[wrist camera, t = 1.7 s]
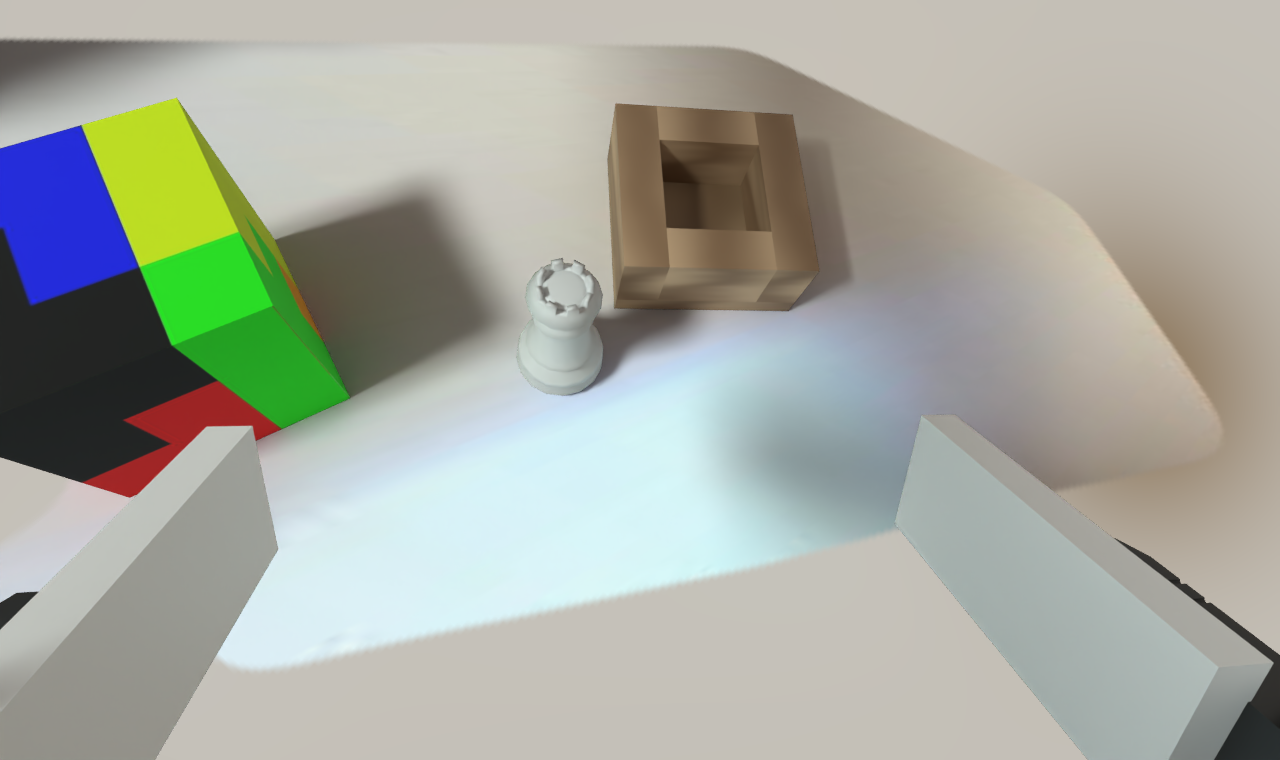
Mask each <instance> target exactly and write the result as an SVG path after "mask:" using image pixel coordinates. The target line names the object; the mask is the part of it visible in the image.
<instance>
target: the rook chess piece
mask: <svg viewBox="0 0 1280 760" xmlns="http://www.w3.org/2000/svg"><path fill="white" fill-rule="evenodd" d="M602 296H603V294H602V291H601V288H600V285H599V282H598V281H597V280H596V278H595V277H594V276H593V274H591V273H590V272H589V271H588V270H586V269H585V265H583V264H581V263H580V262H578V261H576V260H574V263H573V264H570V263H563V258H561V259H556V260H551V265H547V266H545V267H544V268H543V267H541V269H540V270H539V271H537V272H536V273H535V274H534V275H533V277H532V278H531V280H530V281H529V283H528V284H527V290H526V296H525V298H526V302H527V305H528V308H529V311H530V312H531V314H532V317H533V319H531V320H530V321H529V323H528V324H527V326H526V327H525V329H524V330H523V332H522V333H521V335H520V338H519V344H518V350H517V351H518V352H517V361H518V364H519V368H520V372H521V374H522V375H523V376H524V377H525V379H526V380H527V381H528V382H529V383H530V385H531V386H533V387H535V388H537V389H538V390H540V391H542V392H544V393H546V394H553V395H561V396H565V395H569V394H573V393H577V392H580V391H582V390H583V389H584V388H586V387H587V386H588V385H590V384H591V383H593V382H594V380H595V378H596V377H597V375H598V373H599V371H600V370H601V367H602V358H603V344H602V341H601V338H600V335H599V332H598V330H597V329H596V328H595V326H594V325H593V324H592V323H593V321H594V319H595V317H596V315H597V314H598V312H599V311H600V309H601V305H602Z"/></svg>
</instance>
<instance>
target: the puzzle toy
mask: <svg viewBox="0 0 1280 760" xmlns="http://www.w3.org/2000/svg"><path fill="white" fill-rule="evenodd" d="M349 398H350V396H349V394H348V392H347V390H346V388H345V386H344V384H343V382H342V380H341V378H340V376H339V373H338V371H337V369H336V367H335V365H334V363H333V361H332V359H331V357H330V355H329V353H328V350H327V348H326V346H325V344H324V342H323V340H322V338H321V336H320V334H319V332H318V330H317V327H316V325H315V323H314V321H313V319H312V317H311V315H310V313H309V311H308V309H307V307H306V304H305V302H304V300H303V298H302V296H301V294H300V292H299V290H298V288H297V286H296V284H295V282H294V279H293V277H292V275H291V273H290V271H289V269H288V267H287V265H286V263H285V261H284V259H283V256H282V254H281V252H280V250H279V248H278V246H277V244H276V242H275V240H274V238H273V237H272V235H271V234H270V232H269V231H268V230H267V228H266V227H265V225H264V224H263V222H262V221H261V219H260V218H259V217H258V215H257V214H256V212H255V211H254V209H253V208H252V206H251V205H250V203H249V202H248V201H247V199H246V198H245V196H244V195H243V193H242V192H241V190H240V189H239V187H238V186H237V185H236V183H235V182H234V180H233V179H232V177H231V176H230V174H229V173H228V172H227V170H226V169H225V167H224V166H223V164H222V163H221V161H220V160H219V158H218V157H217V156H216V154H215V153H214V151H213V150H212V148H211V147H210V145H209V144H208V142H207V141H206V140H205V138H204V137H203V135H202V134H201V132H200V131H199V129H198V128H197V127H196V125H195V124H194V122H193V121H192V119H191V118H190V116H189V115H188V113H187V112H186V111H185V109H184V108H183V106H182V105H181V103H180V102H179V100H178V99H177V98H174V99H171V100H167V101H164V102H160V103H157V104H153V105H150V106H146V107H143V108H140V109H136V110H133V111H129V112H126V113H122V114H119V115H115V116H112V117H108V118H105V119H101V120H98V121H94V122H91V123H87V124H84V125H80V126H77V127H73V128H70V129H67V130H63V131H60V132H56V133H53V134H49V135H46V136H42V137H39V138H35V139H32V140H28V141H25V142H21V143H18V144H14V145H11V146H7V147H4V148H0V457H1V458H4V459H8V460H11V461H14V462H17V463H20V464H24V465H27V466H30V467H33V468H36V469H40V470H43V471H46V472H49V473H53V474H56V475H59V476H62V477H65V478H68V479H72V480H75V481H78V482H81V483H85V484H88V485H91V486H94V487H97V488H101V489H104V490H107V491H110V492H113V493H117V494H120V495H123V496H126V497H132V496H134V495H137V494H139V493H140V492H141V491H142V490H143V489H144V488H145V487H146V486H147V485H148V484H149V483H150V482H151V481H152V480H153V479H154V478H155V477H156V476H157V475H158V474H159V473H160V472H161V471H162V470H163V469H164V468H165V467H166V466H167V465H168V464H169V463H170V462H171V461H172V460H173V459H174V458H175V457H176V456H177V455H178V454H179V453H180V452H181V451H182V450H183V449H184V448H185V447H186V446H187V445H188V444H189V443H190V442H192V441H193V440H194V439H195V438H196V437H197V436H198V435H199V434H200V433H201V432H202V431H203V430H204V429H205V428H206V427H212V426H253V431H254V436H255V441H256V440H259V439H261V438H263V437H265V436H267V435H270V434H272V433H274V432H276V431H278V430H281V429H283V428H285V427H287V426H290V425H292V424H294V423H296V422H298V421H301V420H303V419H305V418H307V417H310V416H312V415H314V414H316V413H318V412H321V411H323V410H325V409H327V408H330V407H332V406H334V405H336V404H338V403H341V402H343V401H345V400H347V399H349Z"/></svg>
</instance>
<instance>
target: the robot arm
mask: <svg viewBox="0 0 1280 760" xmlns="http://www.w3.org/2000/svg"><path fill="white" fill-rule="evenodd" d="M895 525H896V526H897V527H898V528H899V530H900V531H901V532H902V533H903V534H904V536H905V537H906V538H907V539H908V540H909V542H910V543H911V544H912V545H913V547H914V548H915V549H916V550H917V551H918V553H919V554H920V555H921V556H922V558H923V559H924V560H925V561H926V562H927V564H928V565H929V566H930V567H931V569H932V570H933V571H934V572H935V574H936V575H937V576H938V577H939V578H940V579H941V581H942V582H943V583H944V585H945V586H946V587H947V588H948V589H949V591H950V592H951V593H952V594H953V596H954V597H955V598H956V599H957V600H958V602H959V603H960V604H961V605H962V606H963V608H964V609H965V610H966V612H967V613H968V614H969V615H970V616H971V618H972V619H973V620H974V621H975V622H976V624H977V625H978V626H979V627H980V629H982V631H983V632H984V633H985V635H986V636H987V637H988V638H989V640H990V641H991V642H992V643H993V645H994V646H995V647H996V648H997V649H998V651H999V652H1000V653H1001V654H1002V655H1003V657H1004V658H1005V659H1006V660H1007V662H1008V663H1009V664H1010V665H1011V666H1012V668H1013V669H1014V670H1015V671H1016V673H1017V674H1018V675H1019V676H1020V677H1021V679H1022V680H1023V681H1024V682H1025V684H1026V685H1027V686H1028V687H1029V688H1030V690H1031V691H1032V692H1033V693H1034V695H1035V696H1036V697H1037V698H1038V700H1039V701H1040V702H1041V703H1042V704H1043V705H1044V707H1045V708H1046V709H1047V710H1048V712H1049V713H1050V714H1051V715H1052V717H1053V718H1054V719H1055V720H1056V722H1057V723H1058V724H1059V725H1060V726H1061V728H1062V729H1063V730H1064V731H1065V733H1066V734H1067V735H1068V736H1069V737H1070V739H1071V740H1072V741H1073V742H1074V743H1075V745H1076V746H1077V747H1078V748H1079V750H1080V751H1081V752H1082V753H1083V754H1084V756H1085V757H1086V758H1087V759H1088V760H1280V655H1279V654H1278V653H1276V652H1275V651H1274V650H1272V649H1271V648H1270V647H1268V646H1267V645H1265V644H1264V643H1263V642H1262V641H1260V640H1259V639H1258V638H1257V637H1255V636H1254V635H1253V634H1251V633H1250V632H1249V631H1247V630H1246V629H1245V628H1243V627H1242V626H1241V625H1239V624H1238V623H1237V622H1235V621H1234V620H1233V619H1231V618H1230V617H1229V616H1228V615H1226V614H1225V613H1224V612H1222V611H1221V610H1220V609H1218V608H1217V607H1216V606H1214V605H1213V604H1212V603H1206V602H1205V600H1204V597H1203V596H1201V595H1200V594H1199V593H1197V592H1196V591H1195V590H1193V589H1192V588H1191V587H1189V586H1188V585H1187V584H1181V583H1180V579H1179V578H1178V577H1176V576H1175V575H1174V574H1172V573H1171V572H1170V571H1169V570H1167V569H1166V568H1165V567H1163V566H1162V565H1161V564H1159V563H1158V562H1157V561H1155V560H1154V559H1153V558H1151V557H1150V556H1148V555H1146V554H1144V553H1142V552H1140V551H1139V550H1137V549H1135V548H1133V547H1131V546H1129V545H1127V544H1125V543H1123V542H1121V541H1119V540H1117V539H1116V538H1113V537H1111V536H1110V535H1109V534H1108V533H1106V532H1105V531H1104V530H1103V529H1101V528H1100V527H1099V526H1097V525H1096V524H1095V523H1094V522H1092V521H1091V520H1090V519H1088V518H1087V517H1086V516H1084V515H1083V514H1082V513H1081V512H1079V511H1078V510H1077V509H1076V508H1074V507H1073V506H1072V505H1070V504H1069V503H1068V502H1067V501H1065V500H1064V499H1063V498H1061V497H1060V496H1059V495H1058V494H1056V493H1055V492H1054V491H1052V490H1051V489H1050V488H1049V487H1047V486H1046V485H1045V484H1043V483H1042V482H1041V481H1040V480H1038V479H1037V478H1036V477H1034V476H1033V475H1032V474H1031V473H1029V472H1028V471H1027V470H1025V469H1024V468H1023V467H1022V466H1020V465H1019V464H1018V463H1016V462H1015V461H1014V460H1013V459H1011V458H1010V457H1009V456H1007V455H1006V454H1005V453H1004V452H1002V451H1001V450H1000V449H998V448H997V447H996V446H995V445H993V444H992V443H991V442H989V441H988V440H987V439H986V438H984V437H983V436H982V435H980V434H979V433H978V432H977V431H975V430H974V429H973V428H971V427H970V426H969V425H968V424H966V423H965V422H964V421H962V420H961V419H960V418H959V417H957V416H956V415H921V419H920V423H919V427H918V431H917V435H916V439H915V443H914V447H913V451H912V455H911V459H910V463H909V467H908V471H907V475H906V479H905V483H904V487H903V491H902V495H901V499H900V503H899V507H898V511H897V515H896V519H895ZM277 550H278V546H277V541H276V536H275V531H274V527H273V522H272V517H271V512H270V507H269V503H268V498H267V493H266V488H265V484H264V479H263V474H262V469H261V465H260V460H259V455H258V450H257V445H256V441H255V436H254V431H253V426H212V427H206V428H205V429H204V430H203V431H202V432H201V433H200V434H199V435H198V436H197V437H196V438H195V439H194V440H193V441H192V442H190V443H189V444H188V445H187V446H186V447H185V448H184V449H183V450H182V451H181V452H180V453H179V454H178V455H177V456H176V457H175V458H174V459H173V460H172V461H171V462H170V463H169V464H168V465H167V466H166V467H165V468H164V469H163V470H162V471H161V472H160V473H159V474H158V475H157V476H156V477H155V478H154V479H153V480H152V481H151V482H150V483H149V484H148V485H147V486H146V487H145V488H144V489H143V490H142V491H141V492H140V493H139V494H138V495H137V496H136V497H135V498H134V499H133V500H132V501H131V502H130V503H129V504H128V505H126V506H125V507H124V508H123V509H122V510H121V511H120V512H119V513H118V514H117V515H116V516H115V517H114V518H113V519H112V520H111V521H110V522H109V523H108V524H107V525H106V526H105V527H104V528H103V529H102V530H101V531H100V532H99V533H98V534H97V535H96V536H95V537H94V538H93V539H92V540H91V541H90V542H89V543H88V544H87V545H86V546H85V547H84V548H83V549H82V550H81V551H80V552H79V553H78V554H77V555H76V556H75V557H74V558H73V559H72V560H71V561H70V562H69V563H68V564H67V565H66V566H65V567H63V568H62V569H61V570H60V571H59V572H58V573H57V574H56V575H55V576H54V577H53V578H52V579H51V580H50V581H49V582H48V583H47V584H46V585H45V586H44V587H43V588H42V589H41V590H40V591H39V592H24V593H16V594H14V595H12V596H11V597H9V598H8V599H6V600H4V601H3V602H1V603H0V760H155V759H156V757H157V756H158V754H159V752H160V751H161V749H162V747H163V745H164V743H165V742H166V740H167V739H168V737H169V735H170V733H171V732H172V730H173V728H174V726H175V725H176V723H177V721H178V720H179V718H180V716H181V715H182V713H183V711H184V709H185V708H186V706H187V704H188V703H189V701H190V699H191V698H192V696H193V694H194V692H195V691H196V689H197V687H198V686H199V684H200V682H201V680H202V679H203V677H204V675H205V674H206V672H207V670H208V668H209V666H210V665H211V663H212V662H213V660H214V658H215V656H216V655H217V653H218V651H219V650H220V648H221V646H222V644H223V643H224V641H225V639H226V638H227V636H228V634H229V633H230V631H231V629H232V627H233V626H234V624H235V622H236V621H237V619H238V617H239V615H240V614H241V612H242V610H243V609H244V607H245V605H246V603H247V602H248V600H249V598H250V597H251V595H252V593H253V591H254V590H255V588H256V586H257V585H258V583H259V581H260V579H261V578H262V576H263V574H264V573H265V571H266V569H267V567H268V566H269V564H270V562H271V561H272V559H273V557H274V556H275V554H276V552H277Z"/></svg>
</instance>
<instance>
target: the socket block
mask: <svg viewBox="0 0 1280 760" xmlns="http://www.w3.org/2000/svg"><path fill="white" fill-rule="evenodd" d="M608 179H609V200H610V222H611V244H612V266H613V288H614V308H630V309H695V310H759V311H788V310H789V309H790V308H791V307H792V305H793V304H794V303H795V302H796V300H797V299H798V298H799V296H800V295H801V294H802V293H803V291H804V290H805V289H806V288H807V286H808V285H809V284H810V282H811V281H812V280H813V279H814V277H815V276H816V275H817V274H818V272H819V266H818V260H817V254H816V248H815V242H814V237H813V231H812V225H811V219H810V213H809V207H808V202H807V196H806V190H805V184H804V178H803V173H802V167H801V161H800V155H799V149H798V143H797V138H796V132H795V126H794V120H793V115H788V114H772V113H756V112H741V111H725V110H709V109H694V108H678V107H662V106H647V105H631V104H615V111H614V118H613V125H612V132H611V139H610V146H609V153H608Z"/></svg>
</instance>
